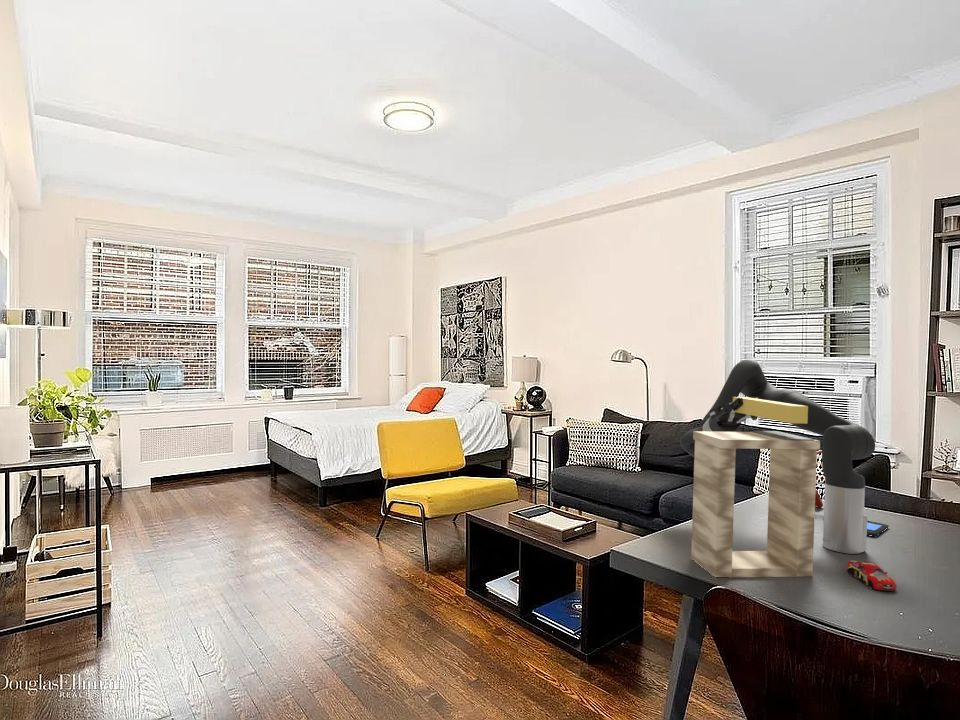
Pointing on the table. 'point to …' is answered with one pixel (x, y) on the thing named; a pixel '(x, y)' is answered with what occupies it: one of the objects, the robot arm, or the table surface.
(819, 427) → the robot arm
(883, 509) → the table surface
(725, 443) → the shelf
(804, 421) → the beam
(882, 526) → the handheld game console
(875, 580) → the race car
